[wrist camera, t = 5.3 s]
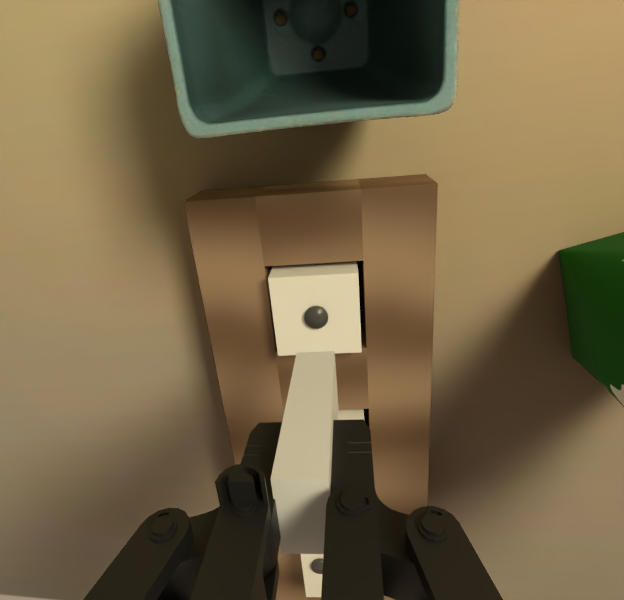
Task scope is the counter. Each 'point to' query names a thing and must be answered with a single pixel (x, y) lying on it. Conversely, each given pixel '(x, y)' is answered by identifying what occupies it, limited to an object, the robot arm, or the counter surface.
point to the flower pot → (308, 62)
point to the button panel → (374, 331)
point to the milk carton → (597, 308)
